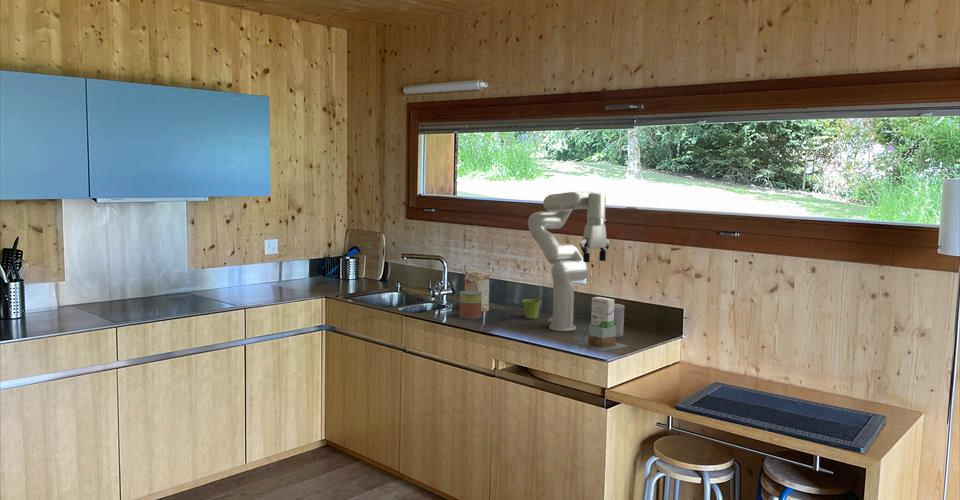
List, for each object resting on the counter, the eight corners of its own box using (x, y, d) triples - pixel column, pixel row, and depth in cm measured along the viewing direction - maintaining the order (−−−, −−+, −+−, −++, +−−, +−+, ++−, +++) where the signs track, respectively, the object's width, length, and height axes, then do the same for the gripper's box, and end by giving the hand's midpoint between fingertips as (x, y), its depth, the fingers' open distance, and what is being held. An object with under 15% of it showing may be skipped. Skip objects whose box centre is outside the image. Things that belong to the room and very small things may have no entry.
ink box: (614, 326, 303) (615, 298, 301) (607, 328, 299) (608, 300, 298) (597, 323, 309) (598, 296, 308) (590, 324, 305) (591, 297, 304)
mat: (574, 344, 307) (574, 343, 306) (601, 339, 316) (601, 338, 316) (602, 351, 294) (602, 351, 294) (629, 346, 303) (629, 345, 303)
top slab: (588, 334, 305) (588, 325, 305) (601, 332, 310) (602, 323, 309) (602, 338, 299) (602, 328, 298) (615, 335, 303) (616, 326, 303)
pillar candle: (597, 333, 327) (598, 301, 325) (615, 332, 331) (616, 299, 329) (609, 338, 318) (610, 305, 316) (627, 337, 322) (629, 303, 320)
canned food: (483, 314, 365) (484, 291, 364) (478, 319, 354) (478, 295, 353) (462, 313, 368) (462, 290, 367) (456, 317, 357) (456, 293, 356)
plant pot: (518, 317, 361) (518, 300, 360) (532, 315, 367) (532, 298, 366) (530, 320, 353) (530, 303, 353) (544, 318, 359) (545, 301, 358)
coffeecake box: (463, 307, 385) (464, 270, 383) (475, 306, 389) (476, 270, 387) (477, 312, 372) (477, 274, 370) (489, 311, 376) (489, 273, 374)
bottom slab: (588, 343, 306) (588, 334, 305) (601, 341, 310) (601, 332, 310) (601, 347, 299) (602, 338, 299) (615, 345, 304) (615, 335, 303)
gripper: (603, 220, 319) (602, 259, 321) (575, 221, 309) (573, 261, 311) (616, 221, 313) (614, 261, 315) (587, 223, 303) (586, 263, 305)
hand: (594, 261), depth 313 cm, fingers open, 9 cm apart
